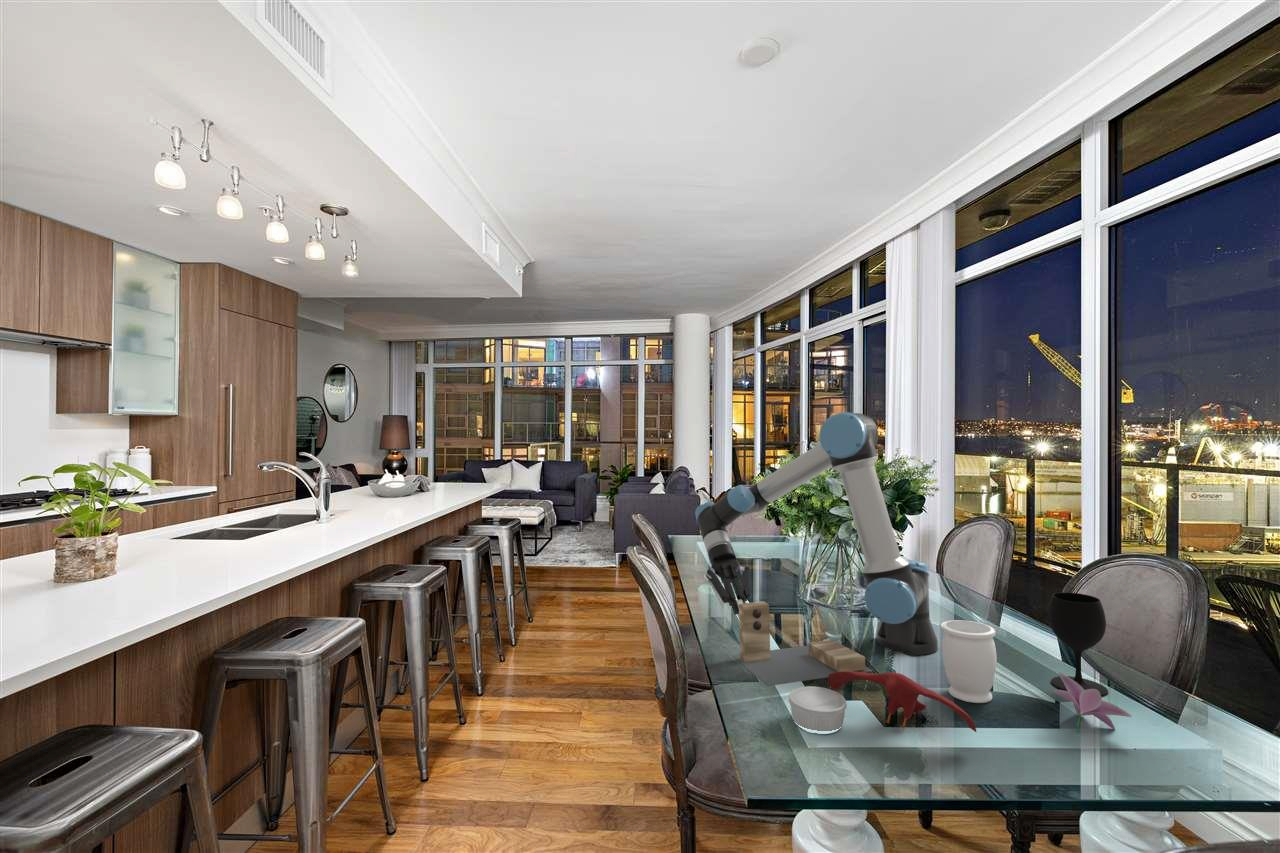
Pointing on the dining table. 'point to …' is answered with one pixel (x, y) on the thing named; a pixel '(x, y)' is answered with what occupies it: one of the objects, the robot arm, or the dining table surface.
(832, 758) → the dining table surface
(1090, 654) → the dining table surface
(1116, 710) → the lily
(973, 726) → the red dinosaur figurine
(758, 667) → the mat
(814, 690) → the ramekin
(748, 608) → the tile two
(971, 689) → the jar
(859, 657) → the tile one
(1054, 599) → the wine glass
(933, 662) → the dining table surface
